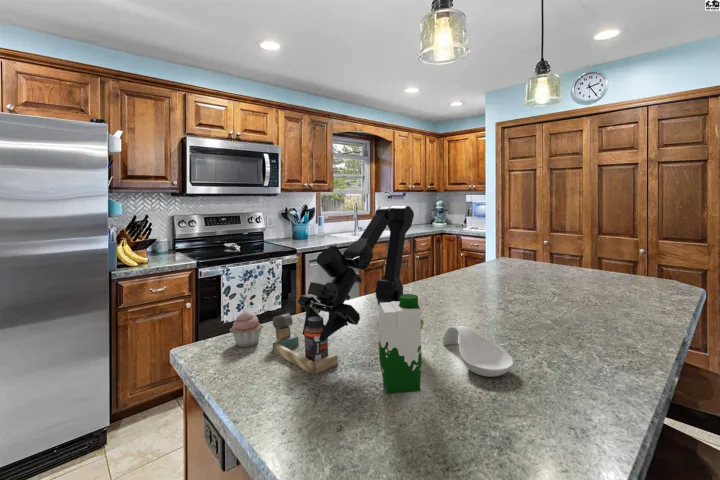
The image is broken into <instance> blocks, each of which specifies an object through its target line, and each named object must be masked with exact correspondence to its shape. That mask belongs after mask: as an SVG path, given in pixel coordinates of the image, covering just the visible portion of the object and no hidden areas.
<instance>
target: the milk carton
mask: <svg viewBox="0 0 720 480" xmlns="http://www.w3.org/2000/svg"><path fill="white" fill-rule="evenodd" d="M403 294H404V295H400V297H399V299H400V301H397V302H396V301H391V302H386V303H380V306H379V307H378V308H379V309H378V310H379V312H378V353H379V357H378V359H379V366H380V371H381V375H382V376H381V377H382V380H383V383H384V386H385V390H386V393H387V394H396V393H397V394H398V393H411V392H412V393H413V392H420V391H421V381H422V380H421V378H422V329H421V318H422V310H421V308H420V305H419V296H418V295H417V294H413V293H412V294H410V293H406V294H405V293H403Z"/></svg>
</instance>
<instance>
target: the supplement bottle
mask: <svg viewBox="0 0 720 480" xmlns="http://www.w3.org/2000/svg"><path fill="white" fill-rule="evenodd" d="M324 321H325V320H324V317H323V316H321V317H319V316H314V317H310V318H308V326H306V327H305V330H304V333H305V336H304V352H305V354H304V355H305V356H304V357H305V358H307V359H309V360H311V361H313V362H314V361H317V360H320V359H322V358H325V357H327V356H329V342H328V340H329V337H328V338H326V339H325V340H324V341H320V340H319V338H320V335H321V333H322V331H323V329H324V327H325V325H326V324H325V323H324Z"/></svg>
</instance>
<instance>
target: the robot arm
mask: <svg viewBox="0 0 720 480" xmlns="http://www.w3.org/2000/svg"><path fill="white" fill-rule="evenodd" d="M414 216H415V213H414V210H413V209H412V207H410V206H408V205H392V206H391V207H379V208H376V210H375V212H374V216H373V217H372V219H371V220H370V222H369V223H368V225H367V226H366V228H365V229H364V231H363V232H362V234H361V235H360V237H359V238H358V239H357V240H356V241H354V242H353V243H351V244H350V245H348V246H347V248H346V249H345V250H344V251H343V252H341V251H340V250H339V249H340V248H339V247H338V246H337V245H329V247H328V248H325V249H324V250H322V252H320V253H319V254H318V255H317V257H316V263H317V265H319V267H320V268H321V269H322V270H323V271H324V272H325V274H327V276H329V277H330V278H332V280H331V282H330V281H329V282H326V283H325V284H322V283H319V282H313V281H310V282H309V286H308V289H307V293H306V294H303V295H300V297H299V298H298V300H297V304H299V305H300V306H301V307H302V308H303V309H305V310H304V311H305V319H304V324H303V330H302V335H303V336H304V337H305V333H304V330H305V327H306V326H308V318H310V317H314V316H319V317H322V315H320V314H319V313H321V312H325V313H328V320H327V321H326V323H325V324H324V325H325V327H324V329H323V331H322V333H321V335H320V338H319V340H320V341H324V340H325V339H326V338H328V339H329V337H330V336H331V335H333V334H335V333H336V332H337V331H338V330H341V329H342V328H344V327H345V326H346V327H347V326H349V324H350V325H353V326H358V324H359V322H360V320H361V317H360V313H359V312H358V310H356V309H355V308H354V306H353V305H351V304H347V303H345V301H346V300H347V301H349V300H350V299H351V296H350V295H349V294H350V292H351V290H352V289H353V287H354V284H355V283H357V284H361V283H362V278H361V274H360V273H359V272H356V271H355V270H360V271H361V270H366V269H368V267H369V266H370V264H371V262H372V259H373V258H374V254H373V253H374V251H373V250H374V248H375V246H376V244H377V242H378V241H379V240H380V238H381V236H382V235H383V233H384V231H385V230H386V228H387V227H388V229H389V240H388V244H387V253H386V261H385V268H384V275H383V276H382V278H381V279H378V280H377V281H376V287H375V290H374V292H375V298H376V301H377V304H378V306H379V307H380V303H386V302H391V301H396V302H397V301H400V299H399V297H400V295H404V294H405V293H404V286H403V283H402V281H401V278H400V277H401V269H402V260H403V254H404V246H405V238H406V234H407V232H408V231H409V230H410V229H411V227H412V226H413V225H412V224H413V222H414ZM311 295H313V296H311ZM314 296H315V297H316V298H315V297H314Z"/></svg>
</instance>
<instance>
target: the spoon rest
mask: <svg viewBox="0 0 720 480" xmlns="http://www.w3.org/2000/svg"><path fill="white" fill-rule="evenodd" d="M442 338H443V339H442V345H444V346H449V345H450V346H451V345H456V344H458V349H459V355H460V358H461V361H462V363H463V364H464V366H465V367H466V368H467V369H469V370H470V371H471V372H472V373H474V374H476V375H479V376H482V377H490V378H491V377H493V378H494V377H500V376H502V375H505V374H506V373H508V372H509V371H510V370H511V369H512V368H513V367H514V359H513V358H512V357H511V355H510V354H509V353H508V352H507V351H505V350H504V349H502V348H501V347H499V346H498V345H496V344H495V343H494V342H491V341H490V340H489V339H487V338H485V337H484V336H482V335H481V334H479V333H478V332H476V331H475V330H473V329H472V328H470V327H468V326H466V325H459V326H450V327H448V329H447V330H446V331H445V333H444V335H443V337H442Z"/></svg>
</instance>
